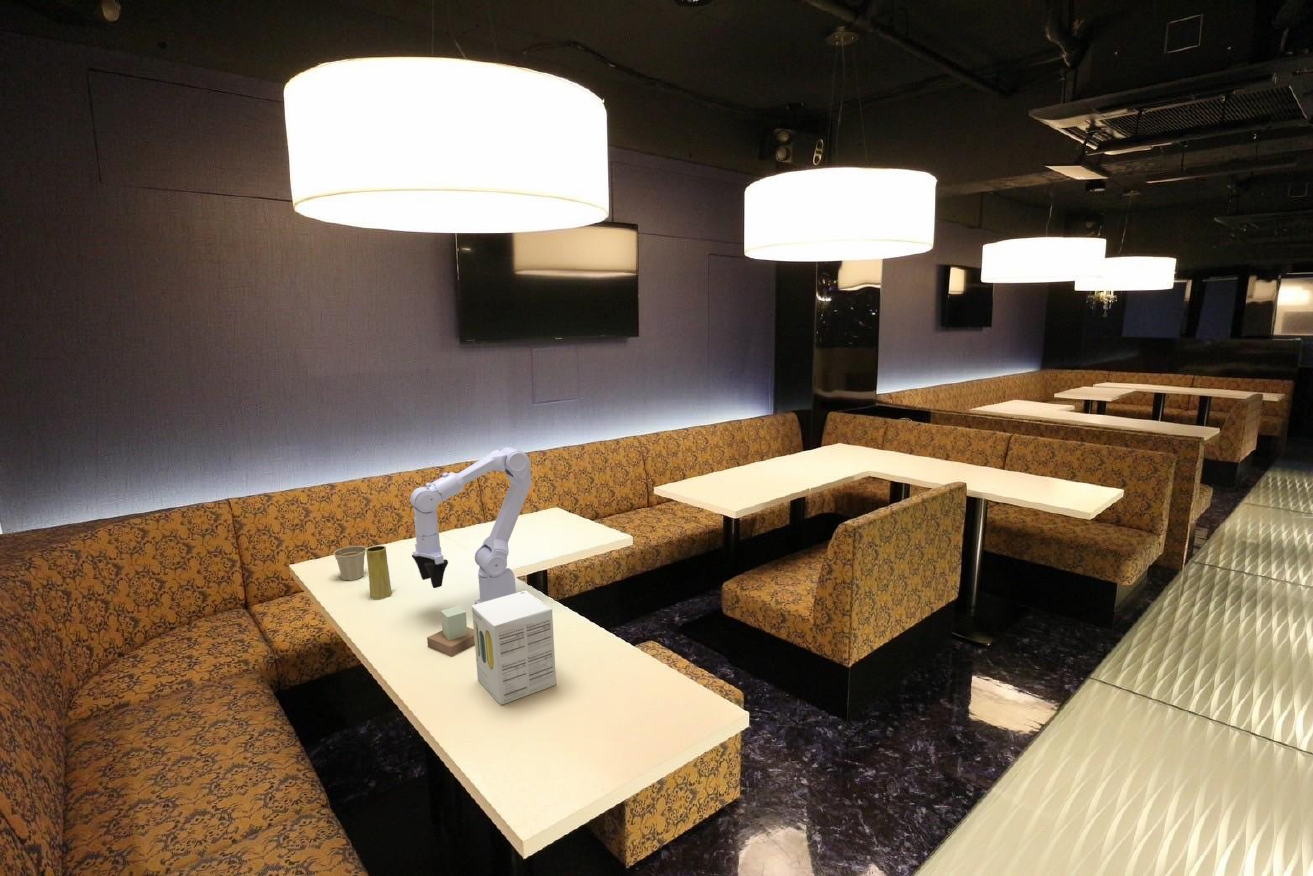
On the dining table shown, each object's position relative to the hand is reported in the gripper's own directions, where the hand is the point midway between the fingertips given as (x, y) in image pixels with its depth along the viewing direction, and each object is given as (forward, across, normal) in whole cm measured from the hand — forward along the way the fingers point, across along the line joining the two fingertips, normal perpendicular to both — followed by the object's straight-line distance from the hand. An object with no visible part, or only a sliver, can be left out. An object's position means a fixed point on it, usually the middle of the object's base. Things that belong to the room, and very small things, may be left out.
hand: (431, 582), depth 176 cm
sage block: (+7, +18, -2) cm, 20 cm away
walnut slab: (+10, +18, -2) cm, 21 cm away
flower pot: (+10, -47, -8) cm, 49 cm away
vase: (+10, -26, -6) cm, 29 cm away
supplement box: (+10, +44, +1) cm, 45 cm away
